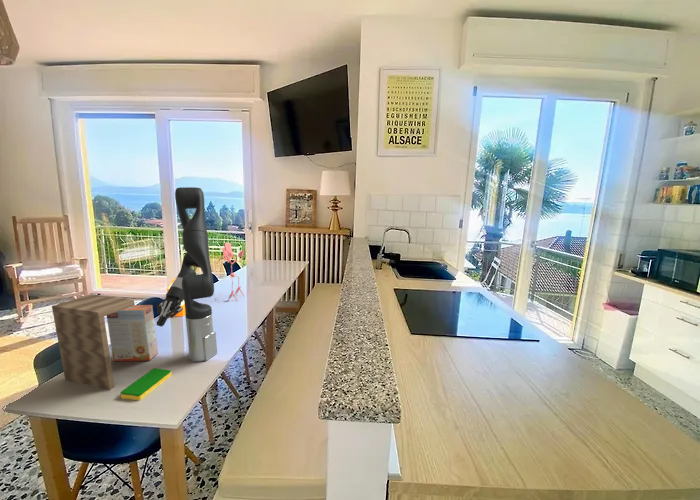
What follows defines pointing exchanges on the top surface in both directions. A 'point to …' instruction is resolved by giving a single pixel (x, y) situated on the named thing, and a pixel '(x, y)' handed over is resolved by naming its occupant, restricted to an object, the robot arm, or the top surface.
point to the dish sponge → (145, 384)
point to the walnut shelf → (86, 338)
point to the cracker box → (133, 334)
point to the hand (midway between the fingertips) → (159, 325)
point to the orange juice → (181, 302)
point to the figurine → (227, 256)
